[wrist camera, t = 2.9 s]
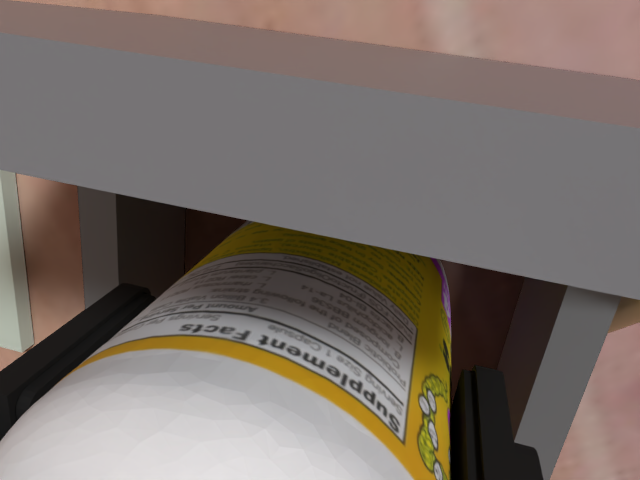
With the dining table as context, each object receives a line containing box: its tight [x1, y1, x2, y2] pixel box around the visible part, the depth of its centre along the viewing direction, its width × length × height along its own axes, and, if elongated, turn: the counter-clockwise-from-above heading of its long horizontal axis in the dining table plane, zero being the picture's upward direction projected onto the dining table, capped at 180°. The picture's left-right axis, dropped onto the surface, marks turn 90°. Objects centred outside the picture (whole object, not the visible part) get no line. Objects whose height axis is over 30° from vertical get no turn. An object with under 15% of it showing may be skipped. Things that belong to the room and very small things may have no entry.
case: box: [0, 0, 640, 480], centre depth 10 cm, size 13×13×11 cm
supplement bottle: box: [0, 220, 452, 480], centre depth 10 cm, size 7×7×13 cm
